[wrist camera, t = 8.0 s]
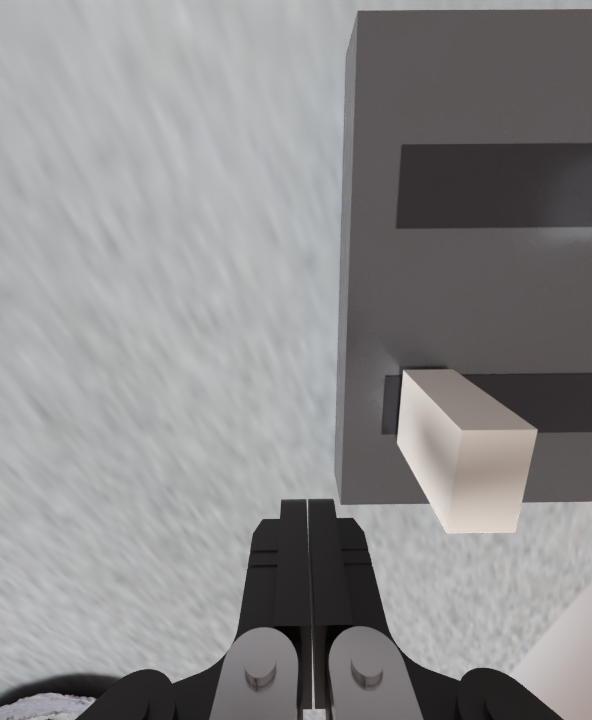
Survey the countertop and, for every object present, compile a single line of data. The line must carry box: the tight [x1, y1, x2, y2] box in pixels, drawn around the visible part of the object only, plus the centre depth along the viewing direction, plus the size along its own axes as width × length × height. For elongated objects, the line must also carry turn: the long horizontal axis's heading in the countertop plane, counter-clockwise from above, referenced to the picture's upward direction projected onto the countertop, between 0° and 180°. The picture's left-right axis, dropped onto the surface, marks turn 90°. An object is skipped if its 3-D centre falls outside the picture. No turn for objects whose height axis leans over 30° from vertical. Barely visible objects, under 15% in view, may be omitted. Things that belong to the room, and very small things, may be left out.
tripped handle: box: [397, 369, 538, 533], centre depth 14 cm, size 2×4×6 cm, turn 0°
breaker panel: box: [335, 9, 592, 505], centre depth 17 cm, size 18×22×3 cm
